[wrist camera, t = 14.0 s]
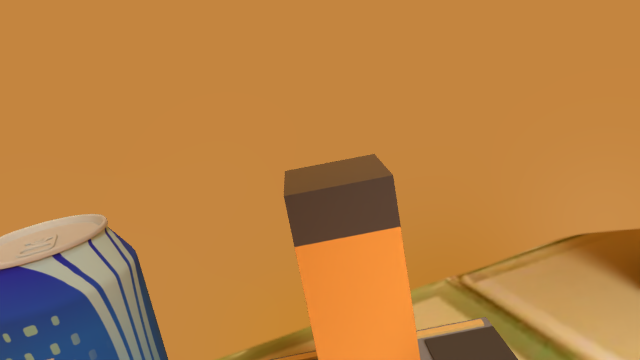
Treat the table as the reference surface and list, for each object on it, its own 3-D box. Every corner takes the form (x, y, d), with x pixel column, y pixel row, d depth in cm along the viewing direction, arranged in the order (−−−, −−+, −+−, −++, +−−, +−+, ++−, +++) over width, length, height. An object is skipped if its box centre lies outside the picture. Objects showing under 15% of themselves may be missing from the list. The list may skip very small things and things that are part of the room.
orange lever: (418, 434, 25) (374, 154, 22) (441, 502, 21) (392, 175, 18) (342, 449, 25) (284, 171, 21) (351, 520, 21) (283, 196, 18)
